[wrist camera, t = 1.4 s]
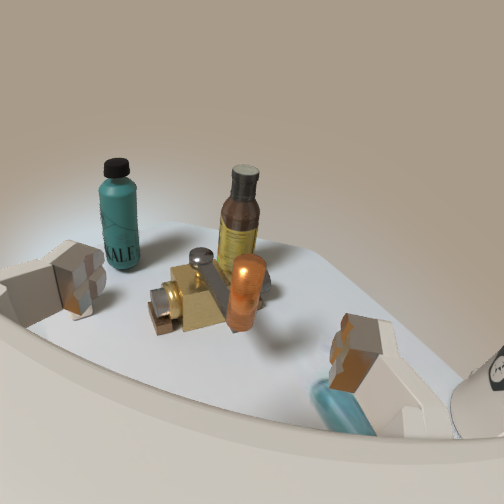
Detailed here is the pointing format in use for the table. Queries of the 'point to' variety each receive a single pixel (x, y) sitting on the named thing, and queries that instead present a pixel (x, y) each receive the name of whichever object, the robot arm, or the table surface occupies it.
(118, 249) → the beverage bottle
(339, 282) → the table surface
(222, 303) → the crank handle
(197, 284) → the ball valve
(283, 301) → the table surface
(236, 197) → the sauce bottle
